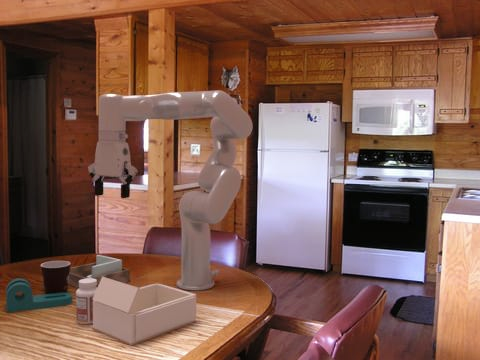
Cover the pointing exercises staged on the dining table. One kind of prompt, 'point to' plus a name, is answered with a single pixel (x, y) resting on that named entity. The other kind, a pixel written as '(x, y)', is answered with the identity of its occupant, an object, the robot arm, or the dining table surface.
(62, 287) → the coffee mug
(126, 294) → the end flap
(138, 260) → the dining table surface
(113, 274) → the open square frame
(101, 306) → the carton
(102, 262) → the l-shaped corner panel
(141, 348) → the dining table surface
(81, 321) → the pill bottle
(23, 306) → the bracket
